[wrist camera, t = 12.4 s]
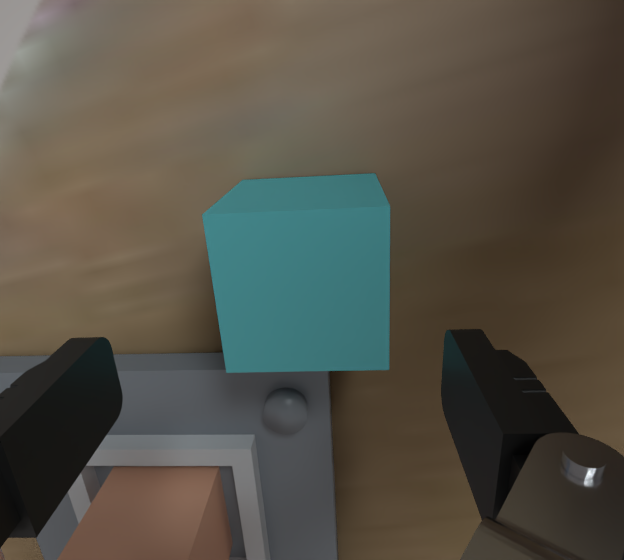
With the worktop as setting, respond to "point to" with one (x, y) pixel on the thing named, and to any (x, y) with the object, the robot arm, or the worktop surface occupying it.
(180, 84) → the worktop surface
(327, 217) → the teal block
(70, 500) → the plate
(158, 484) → the terracotta block
